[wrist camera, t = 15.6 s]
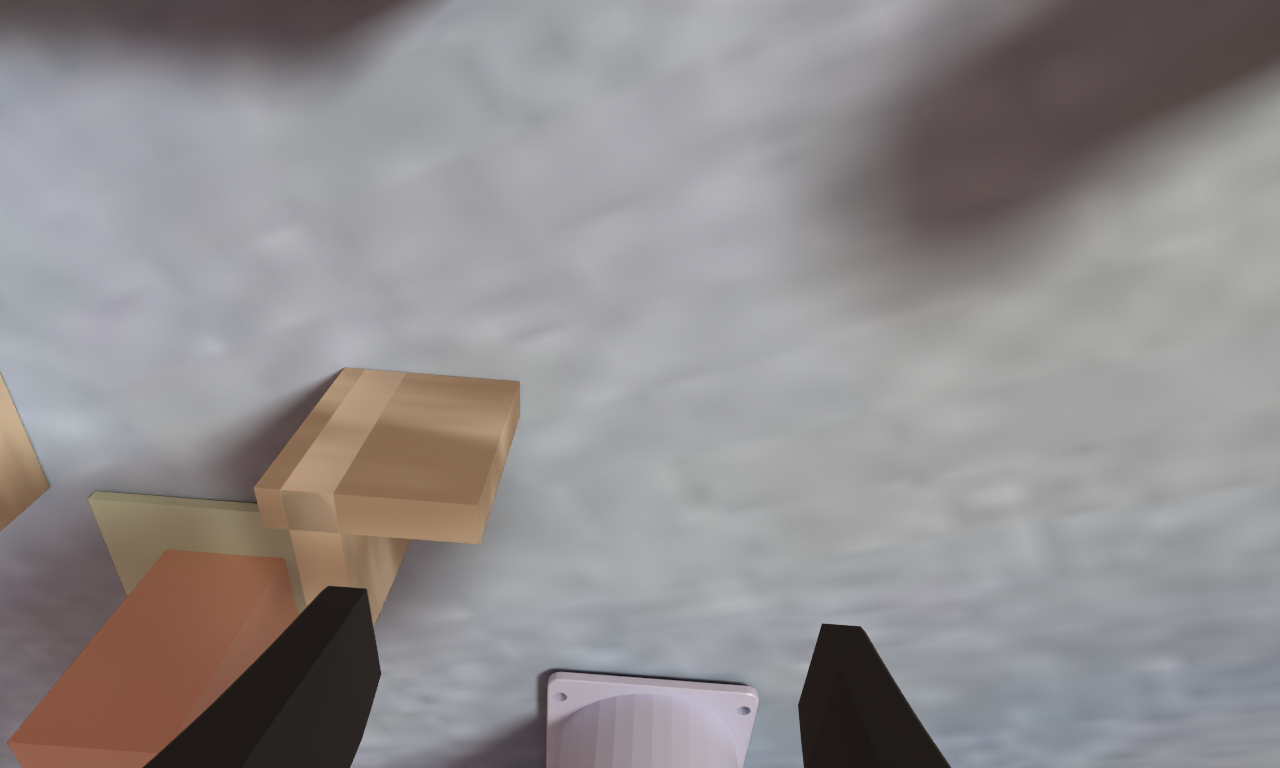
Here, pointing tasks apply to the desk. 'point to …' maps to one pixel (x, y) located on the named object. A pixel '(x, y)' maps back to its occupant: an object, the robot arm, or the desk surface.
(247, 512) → the sage mat
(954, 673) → the desk surface
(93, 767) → the terracotta block
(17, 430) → the wooden channel
